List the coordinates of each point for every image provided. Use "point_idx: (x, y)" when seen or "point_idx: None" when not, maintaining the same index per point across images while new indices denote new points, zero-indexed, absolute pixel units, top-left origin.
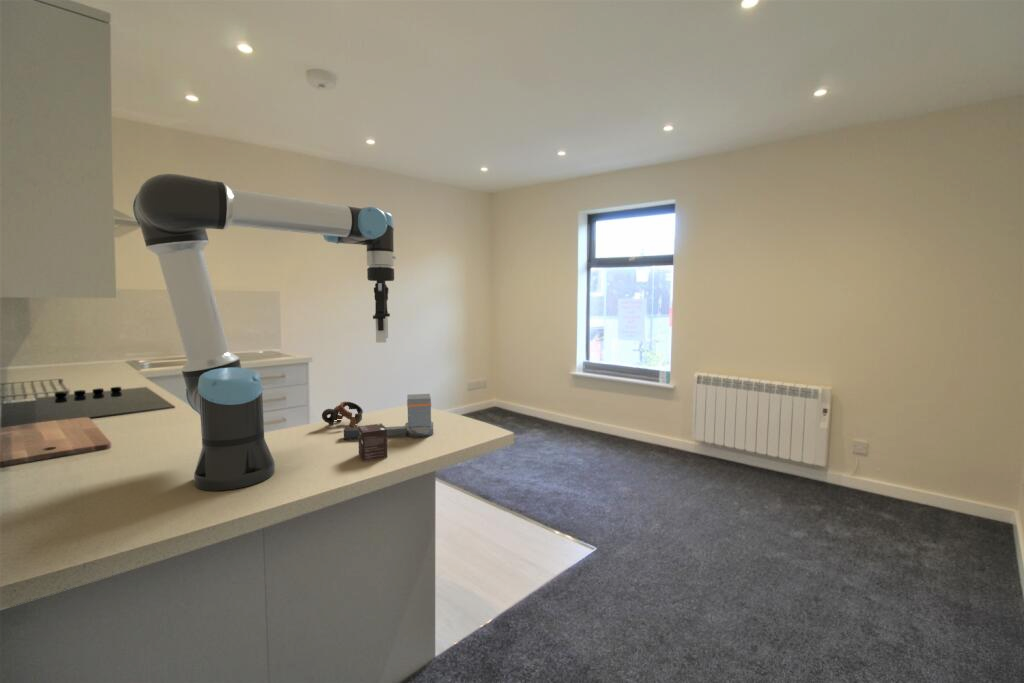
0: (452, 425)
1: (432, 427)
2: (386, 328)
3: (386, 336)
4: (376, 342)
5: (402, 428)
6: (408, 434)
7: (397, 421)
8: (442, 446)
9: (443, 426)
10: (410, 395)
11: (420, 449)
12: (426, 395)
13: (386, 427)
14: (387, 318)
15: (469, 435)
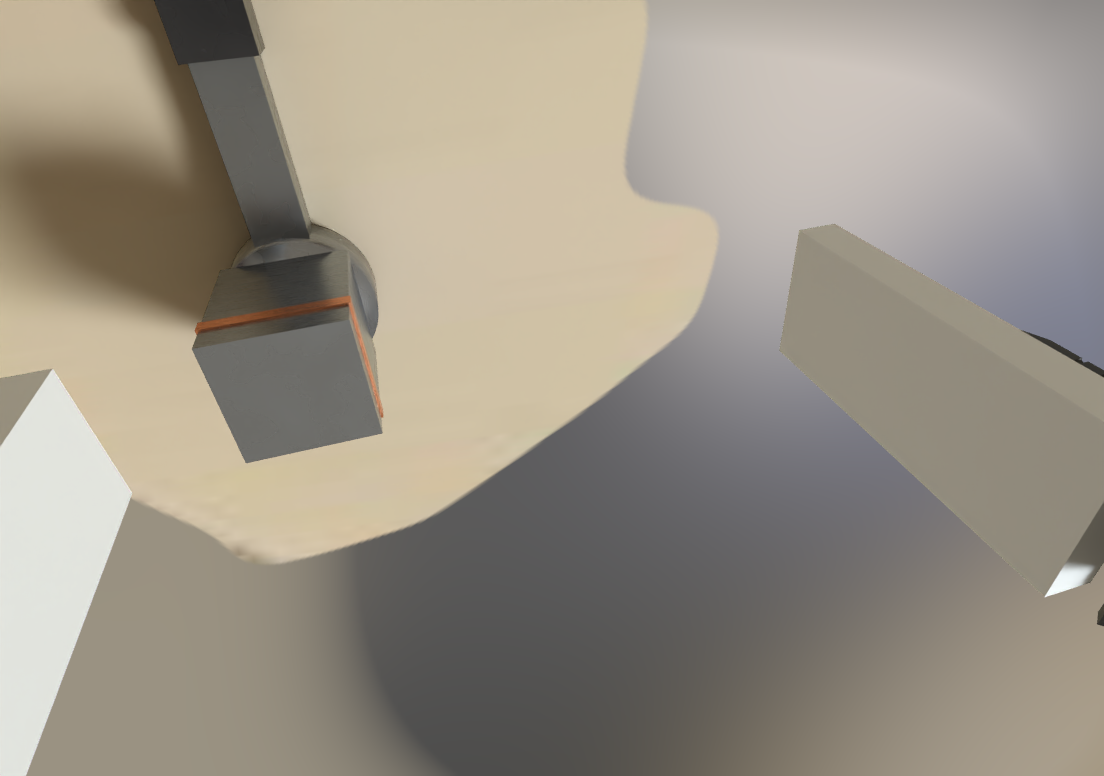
0: (453, 401)
1: None
2: (876, 419)
3: (796, 345)
4: (1, 383)
5: (254, 229)
6: (240, 253)
7: (553, 138)
8: (114, 411)
9: (439, 369)
10: (321, 343)
11: (39, 334)
12: (328, 427)
13: (266, 133)
14: (1018, 570)
15: (298, 478)
